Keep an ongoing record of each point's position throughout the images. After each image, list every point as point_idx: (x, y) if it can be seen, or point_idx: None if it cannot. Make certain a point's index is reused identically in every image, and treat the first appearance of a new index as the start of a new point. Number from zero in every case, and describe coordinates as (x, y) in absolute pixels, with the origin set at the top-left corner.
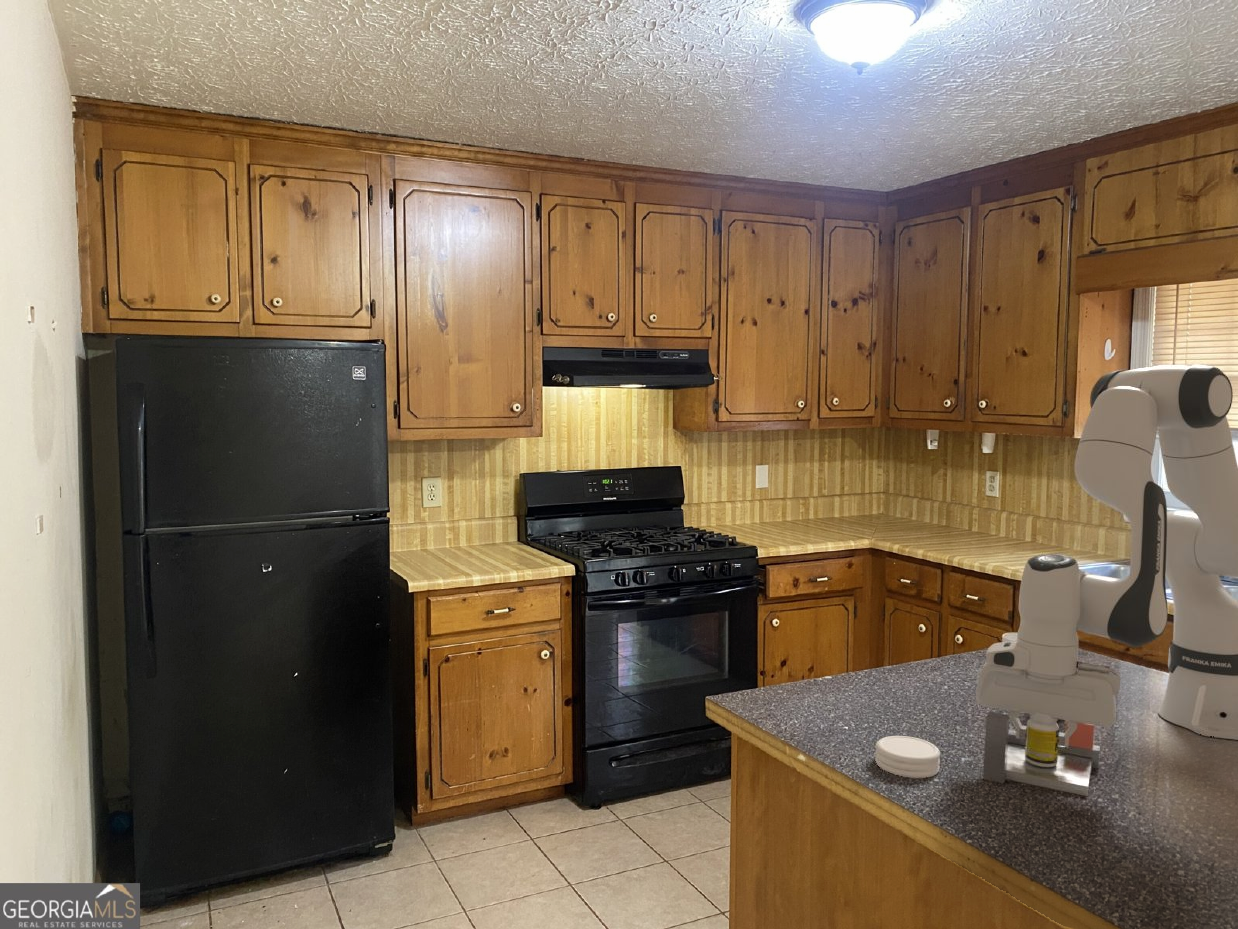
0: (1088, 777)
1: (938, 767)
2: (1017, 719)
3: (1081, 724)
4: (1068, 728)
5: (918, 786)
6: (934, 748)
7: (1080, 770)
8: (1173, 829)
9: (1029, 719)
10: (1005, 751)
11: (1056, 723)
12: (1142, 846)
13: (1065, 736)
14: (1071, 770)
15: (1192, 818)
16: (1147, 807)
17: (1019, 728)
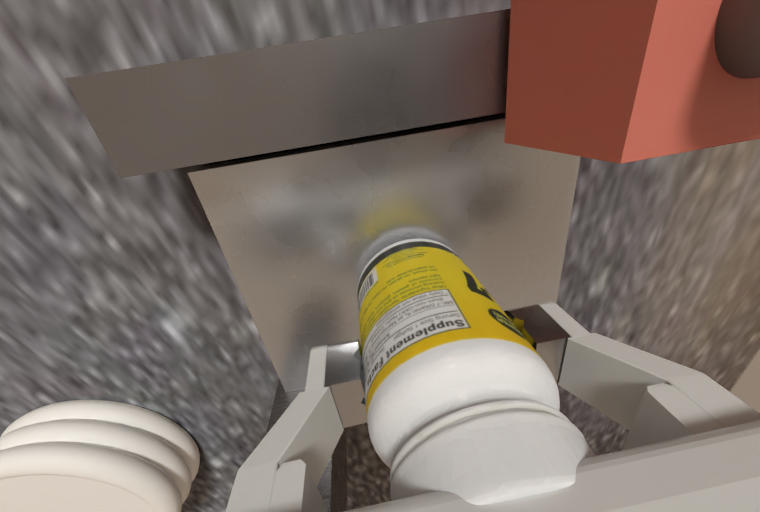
0: (555, 294)
1: (186, 450)
2: (310, 459)
3: (731, 140)
4: (612, 364)
5: (213, 499)
6: (128, 491)
7: (536, 260)
8: (677, 359)
9: (384, 450)
10: (346, 496)
11: (555, 403)
12: (601, 438)
13: (566, 384)
14: (508, 278)
15: (745, 287)
16: (660, 297)
17: (338, 430)
